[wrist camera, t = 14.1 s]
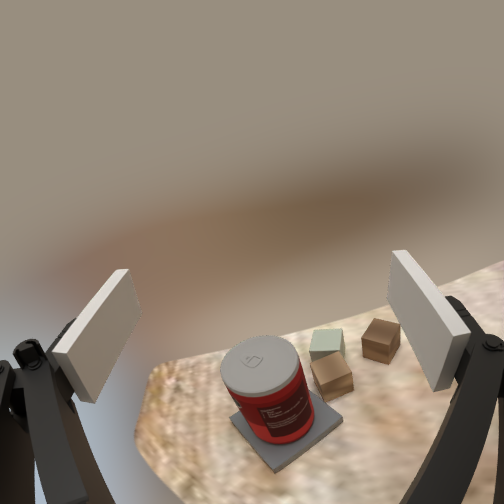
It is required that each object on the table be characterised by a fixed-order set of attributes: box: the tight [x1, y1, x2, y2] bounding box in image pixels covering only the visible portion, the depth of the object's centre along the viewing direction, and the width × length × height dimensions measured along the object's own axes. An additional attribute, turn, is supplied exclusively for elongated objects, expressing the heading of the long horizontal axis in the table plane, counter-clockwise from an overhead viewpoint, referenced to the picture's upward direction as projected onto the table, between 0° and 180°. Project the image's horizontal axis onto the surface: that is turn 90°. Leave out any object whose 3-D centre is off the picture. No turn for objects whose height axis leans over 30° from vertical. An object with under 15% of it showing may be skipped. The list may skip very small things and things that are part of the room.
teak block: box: [310, 351, 354, 403], centre depth 37 cm, size 4×4×4 cm
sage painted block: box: [309, 329, 345, 362], centre depth 42 cm, size 4×4×4 cm
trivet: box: [229, 389, 343, 473], centre depth 35 cm, size 10×10×1 cm
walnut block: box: [361, 318, 400, 365], centre depth 40 cm, size 4×4×4 cm
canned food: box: [220, 335, 314, 444], centre depth 32 cm, size 8×8×11 cm
